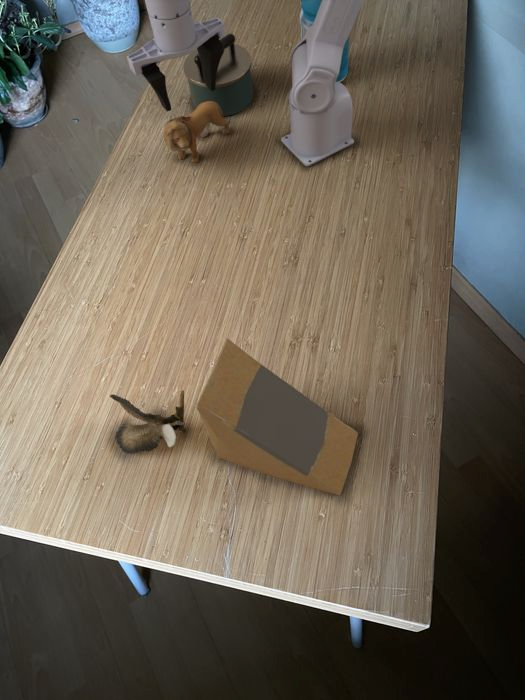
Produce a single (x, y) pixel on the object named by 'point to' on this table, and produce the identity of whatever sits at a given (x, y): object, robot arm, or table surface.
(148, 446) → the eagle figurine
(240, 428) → the sandwich container
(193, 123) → the lion figurine
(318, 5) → the beverage bottle
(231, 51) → the green lidded pot
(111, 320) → the table surface
